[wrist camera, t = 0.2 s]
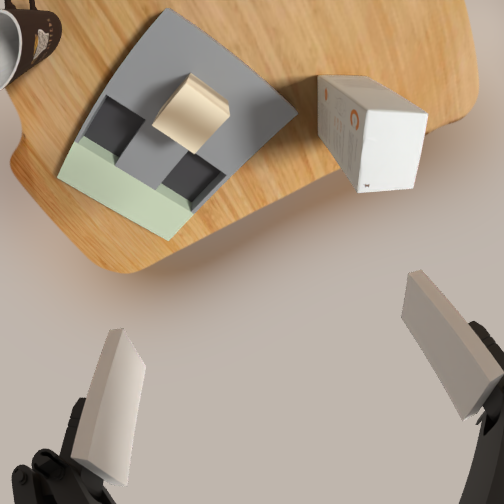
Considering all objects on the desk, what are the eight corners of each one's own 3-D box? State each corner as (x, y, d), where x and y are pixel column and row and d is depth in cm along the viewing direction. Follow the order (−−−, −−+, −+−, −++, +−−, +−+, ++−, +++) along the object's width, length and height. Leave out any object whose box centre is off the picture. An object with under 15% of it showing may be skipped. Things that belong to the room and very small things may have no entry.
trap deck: (170, 8, 22) (166, 7, 20) (293, 106, 32) (298, 113, 30) (64, 167, 33) (56, 177, 31) (170, 229, 43) (168, 241, 41)
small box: (363, 133, 35) (414, 190, 26) (316, 135, 35) (355, 195, 26) (367, 74, 29) (430, 113, 20) (316, 73, 29) (365, 110, 20)
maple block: (190, 72, 26) (185, 83, 22) (228, 100, 28) (230, 116, 25) (160, 108, 28) (151, 125, 24) (197, 133, 31) (194, 154, 27)
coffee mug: (45, 80, 24) (-2, 110, 17) (2, 52, 19) (-50, 76, 12) (101, -1, 19) (58, -1, 12) (52, -30, 14) (1, -32, 7)
